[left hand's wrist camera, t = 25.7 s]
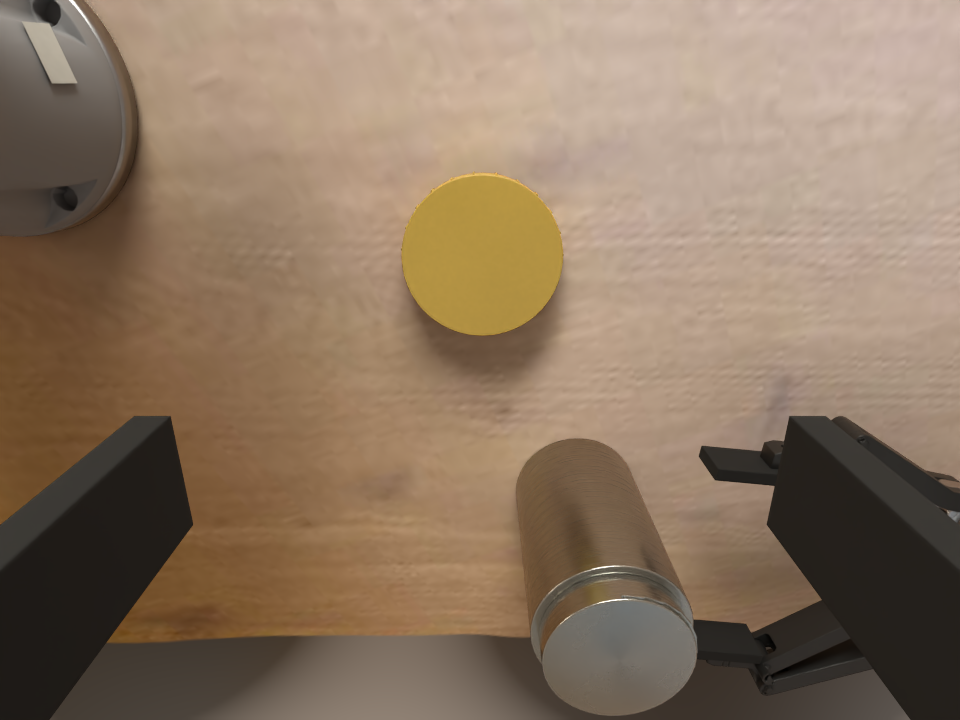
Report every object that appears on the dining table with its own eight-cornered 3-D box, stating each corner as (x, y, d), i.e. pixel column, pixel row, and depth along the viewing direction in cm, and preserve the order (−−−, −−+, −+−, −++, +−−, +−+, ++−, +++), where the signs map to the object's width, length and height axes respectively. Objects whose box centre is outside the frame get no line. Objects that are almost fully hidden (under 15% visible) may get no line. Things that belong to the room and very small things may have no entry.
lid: (393, 180, 35) (388, 183, 34) (555, 162, 35) (559, 164, 33) (416, 333, 39) (412, 343, 37) (563, 318, 39) (568, 328, 37)
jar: (621, 541, 45) (685, 727, 31) (510, 533, 45) (523, 717, 31) (642, 443, 42) (724, 599, 28) (522, 433, 42) (545, 586, 28)
